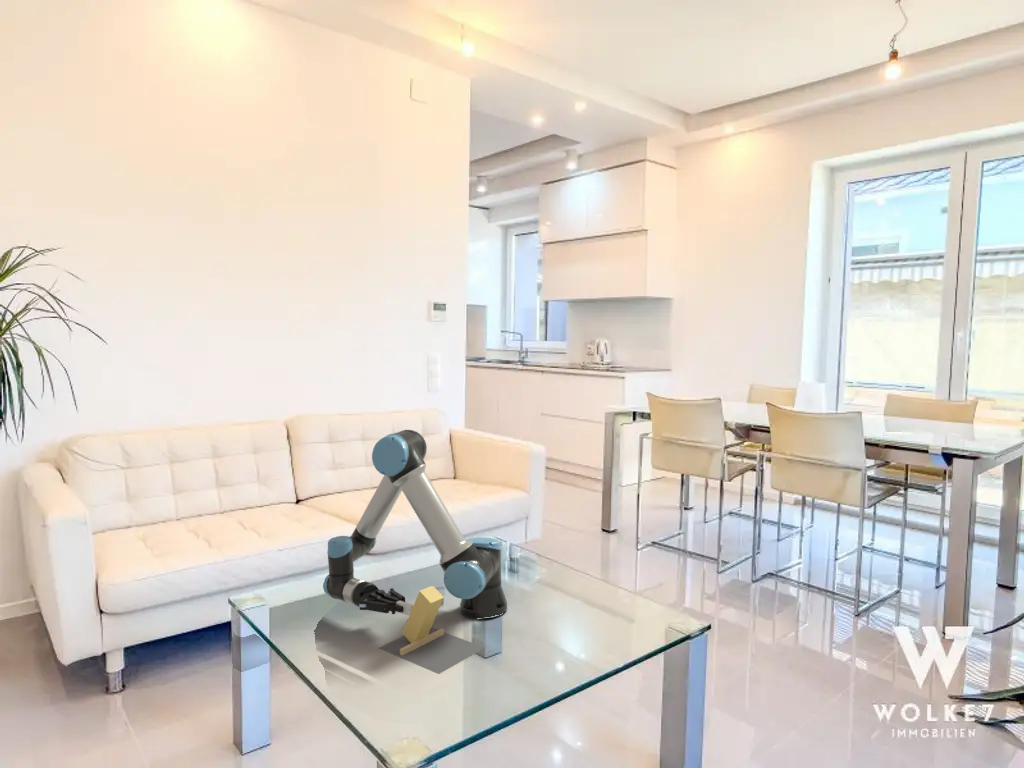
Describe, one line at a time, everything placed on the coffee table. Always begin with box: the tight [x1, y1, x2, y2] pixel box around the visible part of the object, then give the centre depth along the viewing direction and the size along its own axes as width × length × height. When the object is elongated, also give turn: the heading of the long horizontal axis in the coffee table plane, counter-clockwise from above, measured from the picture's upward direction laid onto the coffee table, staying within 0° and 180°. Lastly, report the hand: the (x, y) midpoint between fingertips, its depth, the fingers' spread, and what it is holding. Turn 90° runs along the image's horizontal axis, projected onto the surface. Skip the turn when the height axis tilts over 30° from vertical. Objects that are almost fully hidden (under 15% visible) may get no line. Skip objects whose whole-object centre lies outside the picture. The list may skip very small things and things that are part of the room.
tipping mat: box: [378, 627, 486, 674], centre depth 181 cm, size 24×18×2 cm
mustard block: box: [402, 585, 445, 643], centre depth 183 cm, size 5×5×16 cm
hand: (413, 610), depth 185 cm, fingers closed
